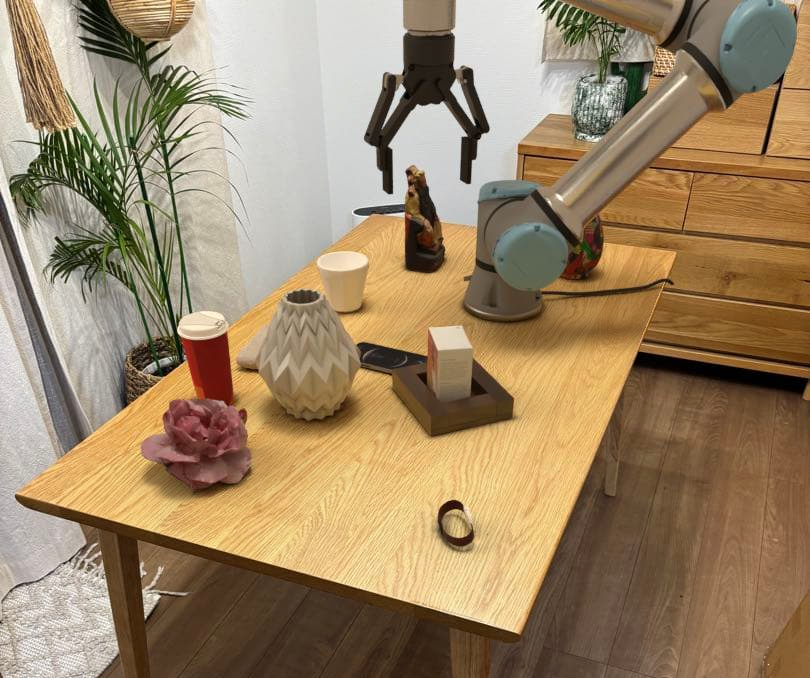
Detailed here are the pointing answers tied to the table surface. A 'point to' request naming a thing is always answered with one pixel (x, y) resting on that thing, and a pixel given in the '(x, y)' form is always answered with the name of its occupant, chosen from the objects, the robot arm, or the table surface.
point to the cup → (343, 279)
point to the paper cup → (208, 355)
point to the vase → (308, 356)
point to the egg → (586, 251)
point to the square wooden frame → (438, 418)
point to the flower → (201, 442)
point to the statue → (421, 225)
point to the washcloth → (252, 349)
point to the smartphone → (387, 357)
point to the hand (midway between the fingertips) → (427, 187)
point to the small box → (449, 363)
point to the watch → (459, 506)
